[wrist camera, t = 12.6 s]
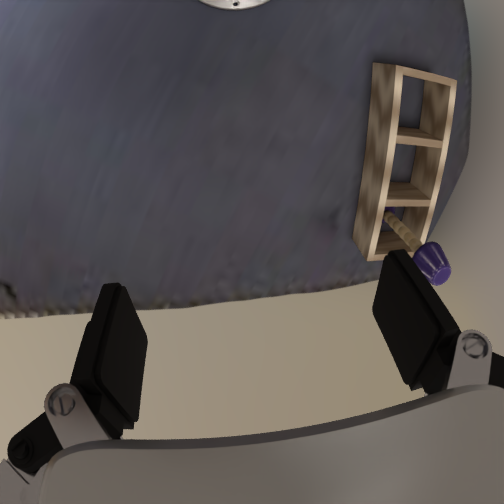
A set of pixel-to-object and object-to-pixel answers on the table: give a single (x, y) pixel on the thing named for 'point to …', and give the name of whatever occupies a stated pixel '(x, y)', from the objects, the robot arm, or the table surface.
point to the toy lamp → (421, 250)
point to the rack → (382, 153)
